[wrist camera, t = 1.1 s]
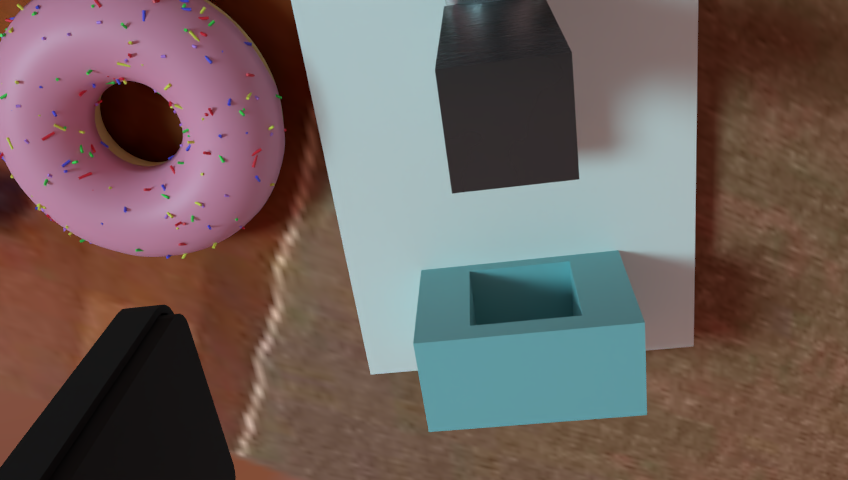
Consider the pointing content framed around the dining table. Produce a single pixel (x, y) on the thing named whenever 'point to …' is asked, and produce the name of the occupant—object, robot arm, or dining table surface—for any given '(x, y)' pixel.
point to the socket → (530, 342)
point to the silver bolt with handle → (505, 95)
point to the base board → (512, 206)
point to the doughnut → (102, 157)
